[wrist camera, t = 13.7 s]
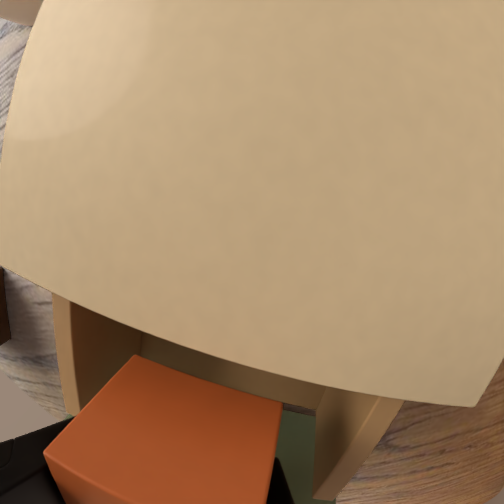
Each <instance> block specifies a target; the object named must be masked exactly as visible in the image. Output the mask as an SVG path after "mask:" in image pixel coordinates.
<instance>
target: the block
mask: <svg viewBox="0 0 504 504" xmlns="http://www.w3.org/2000/svg"><path fill="white" fill-rule="evenodd" d="M282 411H283V403H282V402H280V401H276V400H272V399H268V398H264V397H261V396H257V395H253V394H250V393H246V392H243V391H239V390H236V389H232V388H229V387H226V386H223V385H219V384H216V383H213V382H210V381H207V380H204V379H201V378H198V377H195V376H192V375H189V374H186V373H183V372H181V371H178V370H175V369H172V368H170V367H167V366H164V365H162V364H159V363H156V362H154V361H151V360H149V359H146V358H144V357H141V356H139V355H133V356H132V357H131V358H130V360H129V361H128V362H127V363H126V364H125V365H124V366H123V367H122V368H121V369H120V370H119V371H118V372H117V373H116V374H115V375H114V376H113V377H112V378H111V379H110V381H109V382H108V383H107V384H106V385H105V386H104V387H103V388H102V389H101V390H100V391H99V392H98V393H97V394H96V395H95V396H94V397H93V398H92V400H91V401H90V402H89V403H88V404H87V405H86V406H85V407H84V408H83V409H82V410H81V411H80V412H79V413H78V414H77V416H76V417H75V418H74V419H73V420H72V421H71V422H70V423H69V424H68V425H67V426H66V427H65V428H64V429H63V430H62V432H61V433H60V434H59V435H58V436H57V437H56V438H55V439H54V440H53V441H52V442H51V443H50V444H49V446H48V447H47V448H46V449H45V450H44V452H43V455H44V457H45V459H46V462H47V464H48V467H49V469H50V471H51V473H52V476H53V478H54V480H55V482H56V484H57V487H58V489H59V491H60V493H61V495H62V497H63V499H64V501H65V503H66V504H266V501H267V496H268V491H269V486H270V480H271V475H272V470H273V464H274V459H275V453H276V447H277V441H278V435H279V429H280V423H281V417H282Z"/></svg>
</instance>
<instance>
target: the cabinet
mask: <svg viewBox="0 0 504 504" xmlns="http://www.w3.org/2000/svg"><path fill="white" fill-rule="evenodd" d="M0 265H1V266H2V267H4V268H6V269H8V270H10V271H11V272H13V273H15V274H17V275H19V276H21V277H23V278H25V279H27V280H29V281H30V282H32V283H34V284H36V285H38V286H40V287H42V288H44V289H46V290H48V291H51V292H53V293H55V294H57V295H59V296H61V297H63V298H65V299H67V300H69V301H72V302H74V303H76V304H78V305H80V306H83V307H85V308H87V309H89V310H92V311H94V312H96V313H99V314H101V315H103V316H106V317H108V318H111V319H113V320H115V321H118V322H120V323H123V324H125V325H128V326H130V327H133V328H135V329H138V330H140V331H143V332H146V333H148V334H151V335H154V336H156V337H159V338H162V339H165V340H167V341H170V342H173V343H176V344H179V345H182V346H184V347H187V348H190V349H193V350H196V351H199V352H202V353H206V354H209V355H212V356H215V357H218V358H221V359H225V360H228V361H231V362H235V363H238V364H241V365H245V366H248V367H252V368H255V369H259V370H263V371H266V372H270V373H274V374H278V375H282V376H286V377H290V378H294V379H298V380H302V381H306V382H311V383H315V384H319V385H324V386H329V387H333V388H338V389H343V390H348V391H353V392H359V393H364V394H370V395H375V396H381V397H388V398H394V399H401V400H408V401H415V402H423V403H431V404H440V405H450V406H461V407H475V406H476V404H477V403H478V401H479V399H480V398H481V396H482V395H483V393H484V391H485V390H486V388H487V387H488V385H489V383H490V382H491V380H492V378H493V376H494V375H495V373H496V371H497V369H498V368H499V366H500V364H501V362H502V360H503V358H504V0H43V3H42V5H41V7H40V10H39V12H38V15H37V17H36V20H35V22H34V25H33V27H32V30H31V33H30V36H29V38H28V41H27V44H26V47H25V50H24V53H23V57H22V60H21V63H20V67H19V70H18V74H17V77H16V81H15V85H14V89H13V93H12V98H11V102H10V107H9V111H8V117H7V122H6V127H5V133H4V140H3V147H2V154H1V163H0Z"/></svg>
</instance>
